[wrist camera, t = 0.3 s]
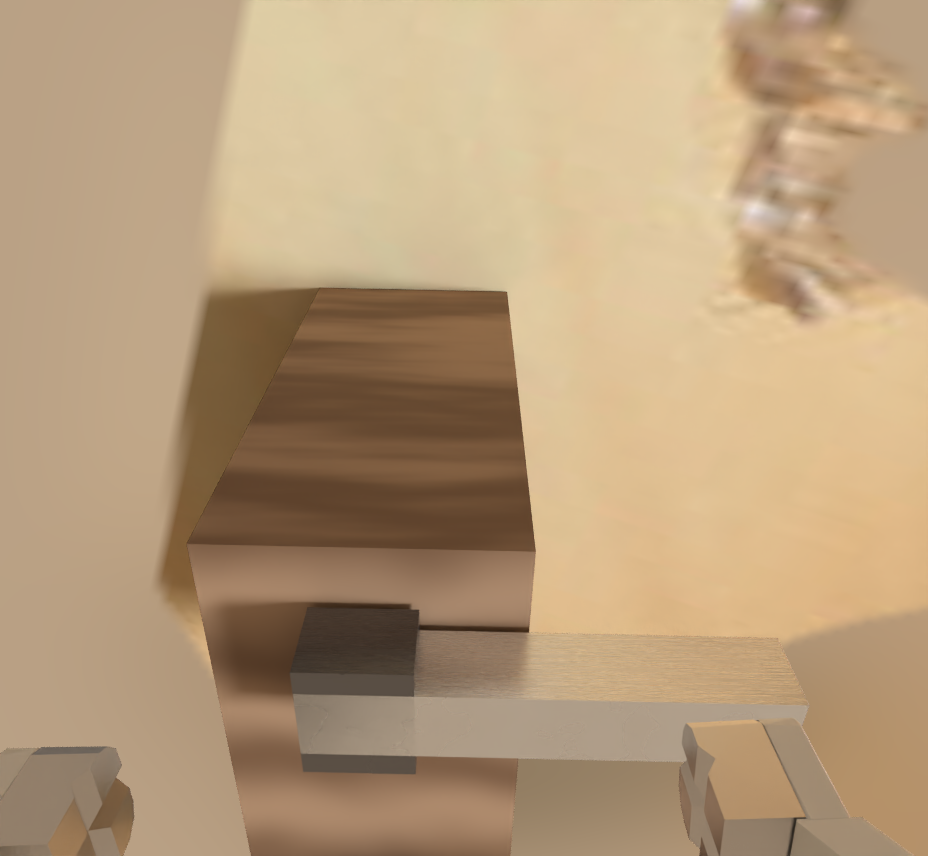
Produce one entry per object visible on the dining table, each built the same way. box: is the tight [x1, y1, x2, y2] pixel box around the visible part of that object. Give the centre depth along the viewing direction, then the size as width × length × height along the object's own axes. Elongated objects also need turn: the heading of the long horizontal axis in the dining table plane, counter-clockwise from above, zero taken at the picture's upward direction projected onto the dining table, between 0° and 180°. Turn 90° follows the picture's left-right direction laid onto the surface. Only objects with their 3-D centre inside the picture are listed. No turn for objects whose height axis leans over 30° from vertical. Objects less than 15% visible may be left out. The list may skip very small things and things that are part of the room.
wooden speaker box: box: [187, 288, 536, 856], centre depth 44 cm, size 26×14×26 cm, turn 179°
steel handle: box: [290, 607, 809, 774], centre depth 27 cm, size 5×17×3 cm, turn 89°
